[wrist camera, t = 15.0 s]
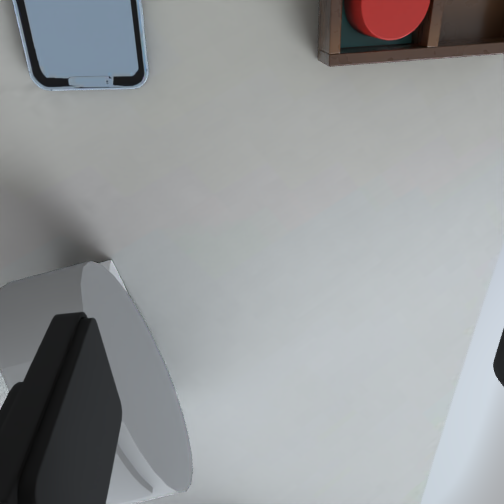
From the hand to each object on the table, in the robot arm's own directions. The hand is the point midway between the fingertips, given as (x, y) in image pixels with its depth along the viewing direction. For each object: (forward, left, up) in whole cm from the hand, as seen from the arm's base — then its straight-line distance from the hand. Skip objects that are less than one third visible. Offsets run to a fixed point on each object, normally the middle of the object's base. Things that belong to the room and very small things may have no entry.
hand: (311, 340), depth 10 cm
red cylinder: (-6, +9, -24) cm, 26 cm away
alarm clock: (+20, -12, -24) cm, 34 cm away
